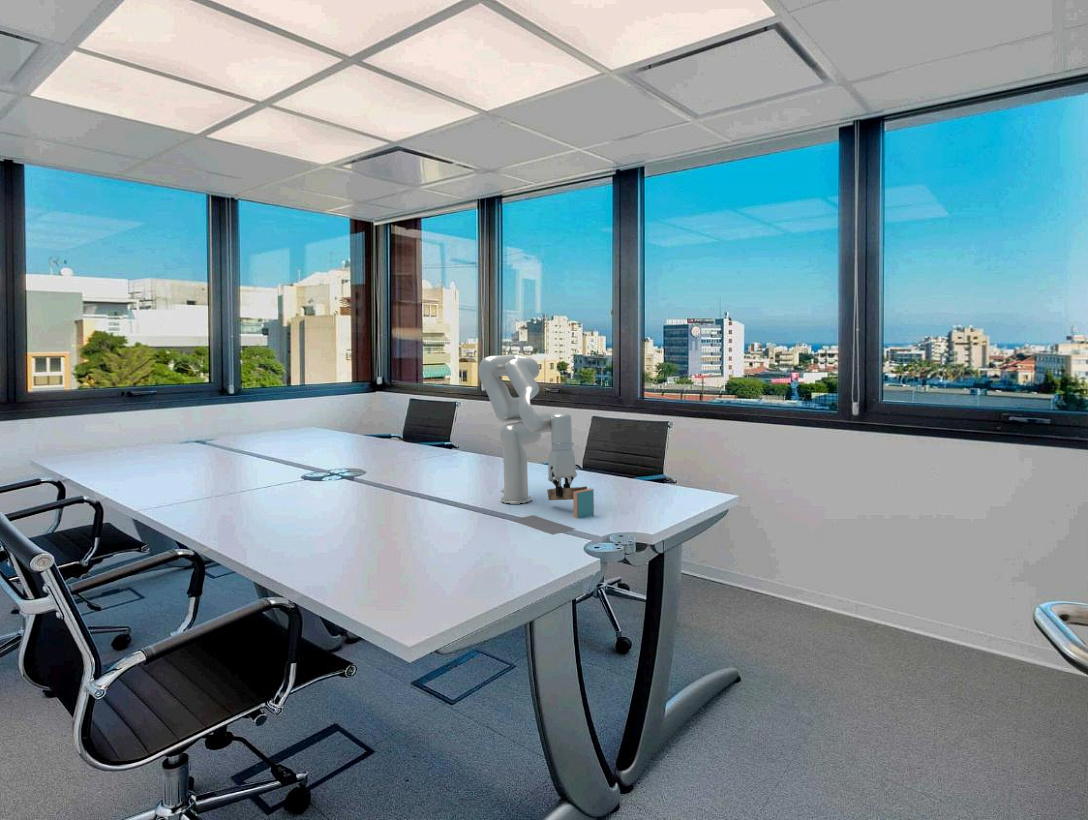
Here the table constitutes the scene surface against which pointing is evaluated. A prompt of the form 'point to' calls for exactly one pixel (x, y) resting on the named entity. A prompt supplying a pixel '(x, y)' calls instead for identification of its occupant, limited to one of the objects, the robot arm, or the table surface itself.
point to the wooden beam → (564, 493)
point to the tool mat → (543, 524)
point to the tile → (583, 503)
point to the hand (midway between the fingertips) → (563, 495)
